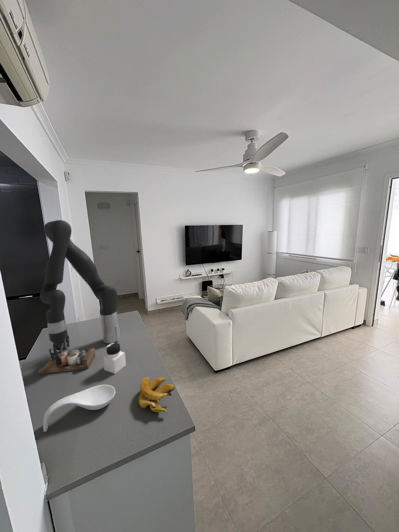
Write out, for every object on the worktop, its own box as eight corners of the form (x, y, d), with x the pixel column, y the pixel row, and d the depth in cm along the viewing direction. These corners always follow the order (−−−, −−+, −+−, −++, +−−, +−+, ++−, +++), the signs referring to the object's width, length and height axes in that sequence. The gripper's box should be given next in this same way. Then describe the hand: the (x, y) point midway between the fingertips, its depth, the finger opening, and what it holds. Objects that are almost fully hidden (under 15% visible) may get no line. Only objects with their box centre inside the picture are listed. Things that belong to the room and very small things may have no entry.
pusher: (85, 357, 112) (84, 348, 111) (80, 366, 105) (78, 356, 104) (83, 358, 111) (82, 348, 111) (77, 366, 105) (76, 356, 104)
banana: (150, 426, 73) (149, 411, 72) (130, 393, 88) (129, 381, 87) (187, 403, 82) (187, 390, 81) (164, 377, 97) (163, 365, 96)
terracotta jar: (71, 359, 110) (69, 348, 109) (65, 366, 105) (64, 355, 104) (59, 360, 110) (57, 349, 108) (53, 367, 104) (51, 356, 103)
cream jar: (82, 359, 111) (81, 348, 110) (78, 366, 105) (76, 354, 104) (70, 360, 110) (69, 349, 109) (66, 367, 105) (64, 356, 103)
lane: (95, 356, 114) (94, 348, 113) (88, 368, 104) (86, 359, 103) (50, 360, 111) (49, 352, 110) (38, 373, 101) (37, 364, 101)
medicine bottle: (126, 365, 106) (124, 342, 104) (115, 374, 99) (112, 350, 97) (115, 362, 109) (113, 340, 107) (104, 370, 102) (101, 347, 100)
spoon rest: (111, 387, 92) (109, 372, 90) (120, 405, 82) (118, 388, 81) (43, 417, 78) (40, 400, 76) (44, 442, 68) (40, 423, 67)
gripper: (58, 335, 97) (63, 369, 100) (72, 322, 111) (76, 352, 114) (40, 337, 97) (45, 371, 99) (57, 323, 111) (61, 353, 113)
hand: (62, 361), depth 107 cm, fingers closed on terracotta jar, 5 cm apart
